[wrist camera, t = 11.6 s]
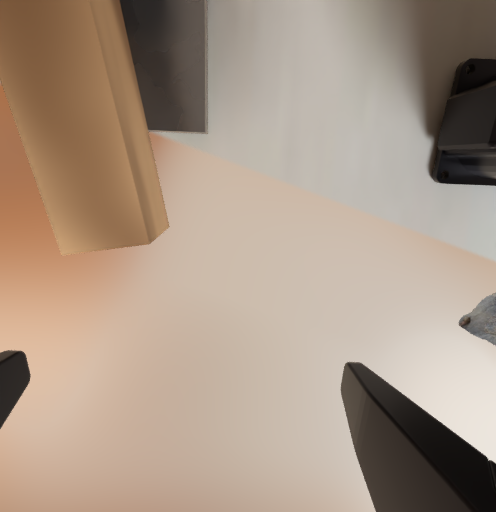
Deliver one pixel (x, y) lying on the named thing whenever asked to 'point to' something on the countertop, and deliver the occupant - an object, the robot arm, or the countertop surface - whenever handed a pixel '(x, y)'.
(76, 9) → the oak rod
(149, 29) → the ridge stand
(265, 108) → the countertop surface
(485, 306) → the driftwood
